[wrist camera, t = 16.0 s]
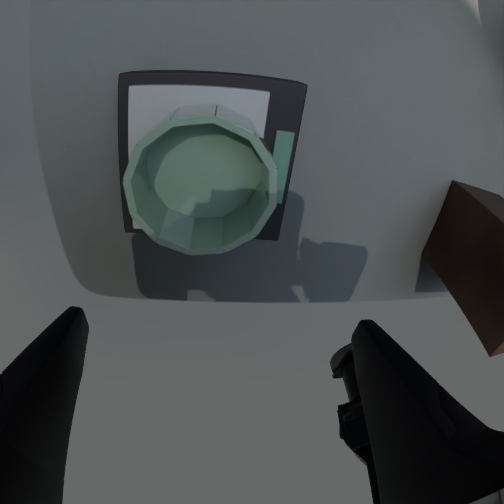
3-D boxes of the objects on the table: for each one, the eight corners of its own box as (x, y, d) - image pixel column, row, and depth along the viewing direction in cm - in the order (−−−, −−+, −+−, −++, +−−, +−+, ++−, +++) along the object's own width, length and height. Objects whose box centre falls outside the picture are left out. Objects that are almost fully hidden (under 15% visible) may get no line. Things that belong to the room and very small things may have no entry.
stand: (470, 257, 26) (532, 342, 16) (421, 253, 25) (489, 357, 15) (499, 195, 21) (580, 273, 12) (452, 179, 20) (551, 273, 11)
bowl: (289, 181, 17) (303, 211, 14) (191, 238, 18) (186, 275, 16) (223, 77, 13) (222, 83, 10) (118, 152, 15) (95, 177, 12)
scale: (273, 223, 22) (279, 246, 19) (132, 215, 20) (122, 237, 18) (299, 81, 16) (311, 85, 13) (130, 71, 14) (114, 74, 12)
